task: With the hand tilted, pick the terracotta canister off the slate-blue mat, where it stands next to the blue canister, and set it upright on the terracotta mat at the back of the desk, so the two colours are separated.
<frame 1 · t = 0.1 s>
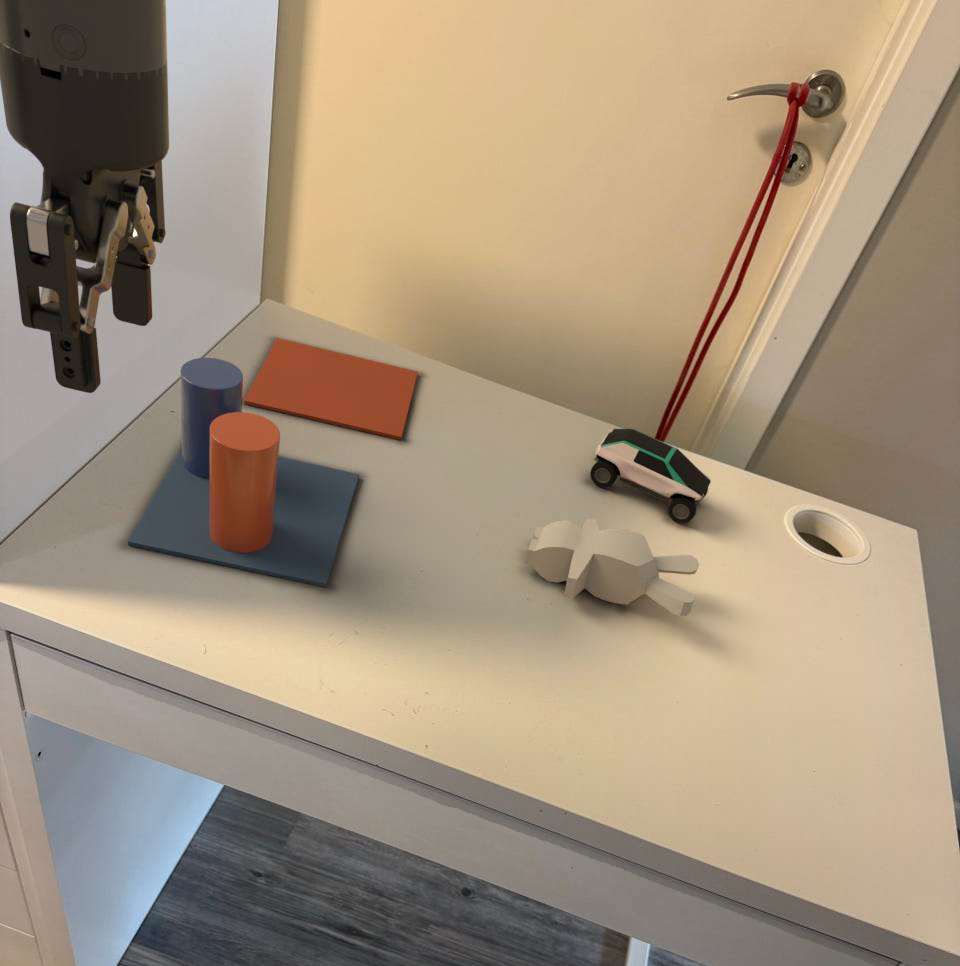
hand: (107, 352, 52), 20 cm above the table, tool pointing down, fingers open, 8 cm apart
terracotta mat: (336, 388, 93), on the table
terracotta canister: (241, 532, 73), resting on blue mat
blue mat: (253, 508, 77), on the table
blue canister: (211, 462, 79), resting on blue mat
toy car: (642, 492, 93), on the table
bunny figurine: (602, 587, 80), on the table
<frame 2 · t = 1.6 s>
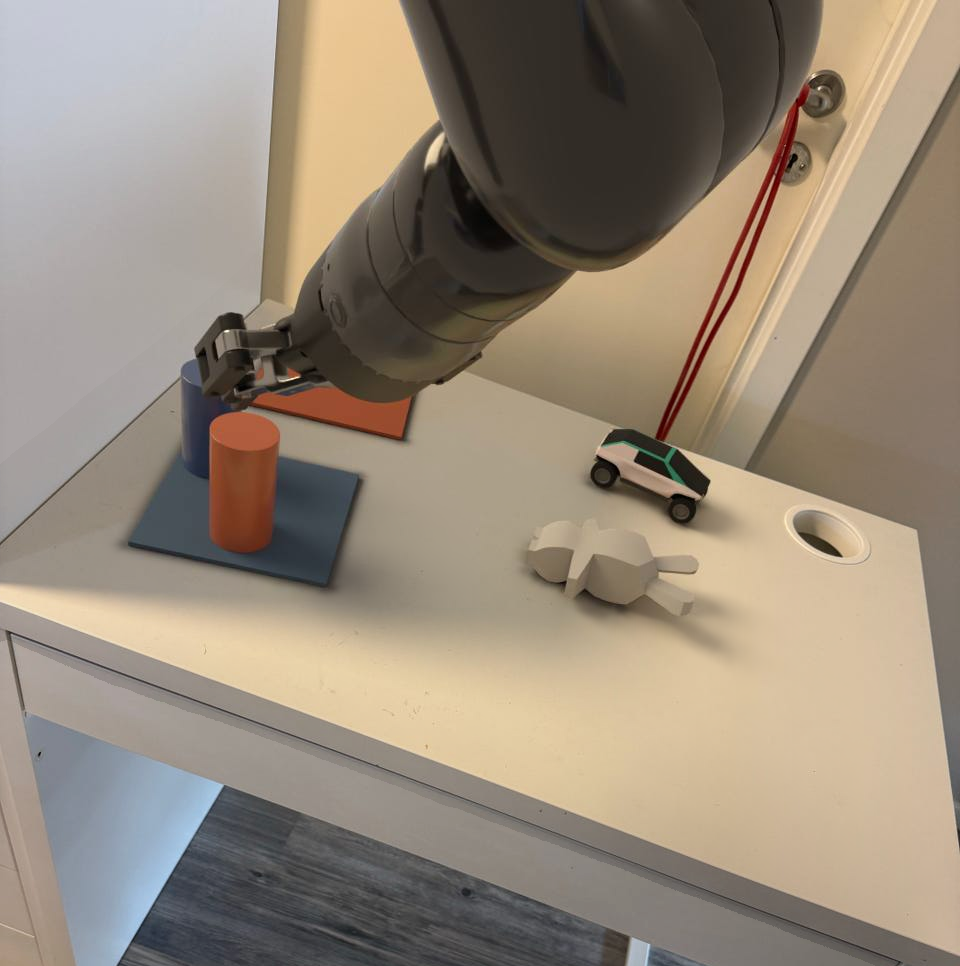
hand: (304, 389, 53), 21 cm above the table, tool tilted 45°, fingers open, 8 cm apart
nothing on the table moved.
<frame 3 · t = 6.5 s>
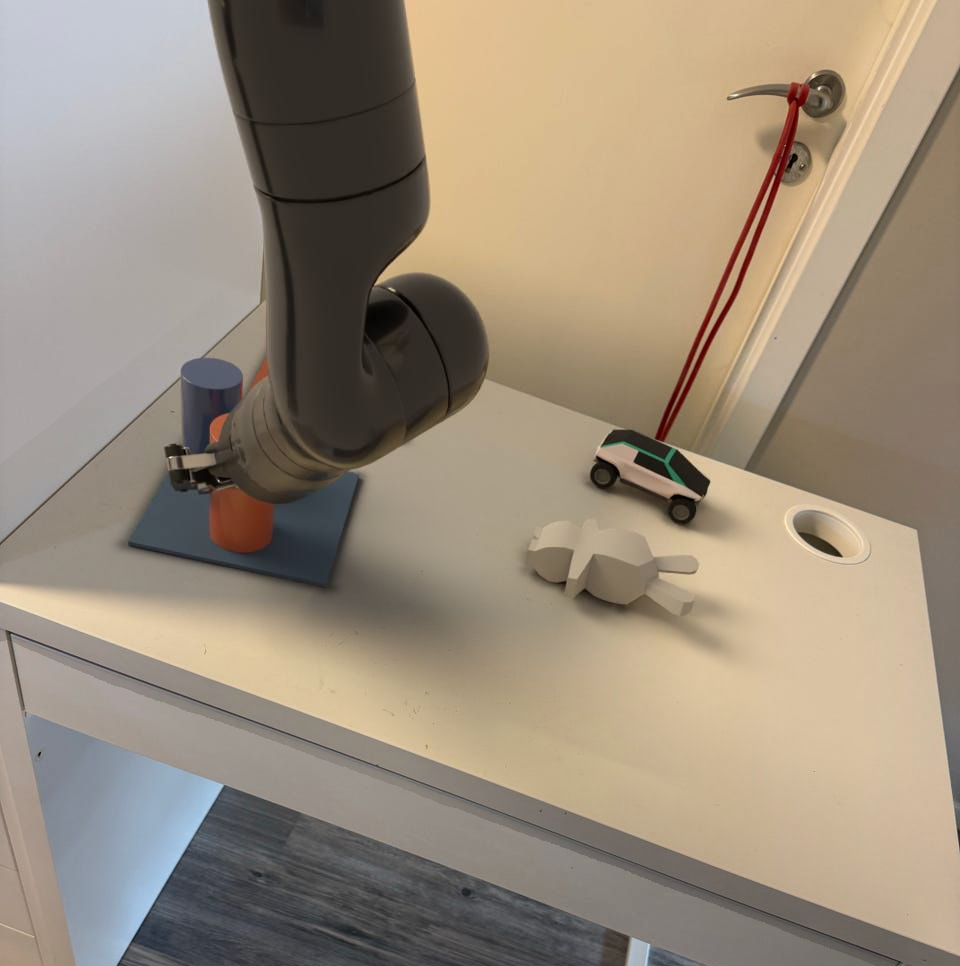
hand: (236, 477, 72), 5 cm above the table, tool tilted 45°, fingers closed on terracotta canister, 5 cm apart
terracotta canister: (241, 532, 73), resting on blue mat, touching gripper
everything else where it was.
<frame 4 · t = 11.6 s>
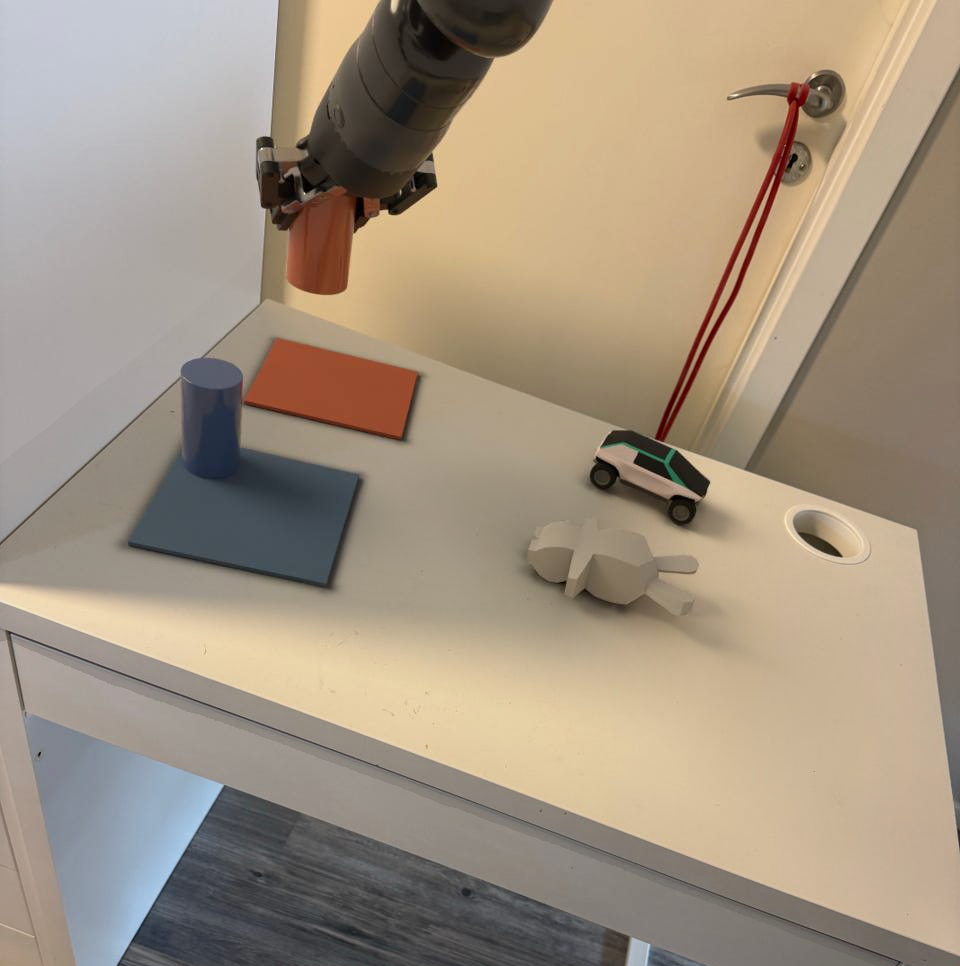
hand: (314, 220, 73), 20 cm above the table, tool tilted 45°, fingers closed on terracotta canister, 5 cm apart
terracotta canister: (316, 280, 75), point 16 cm above the table, touching gripper
everything else where it was.
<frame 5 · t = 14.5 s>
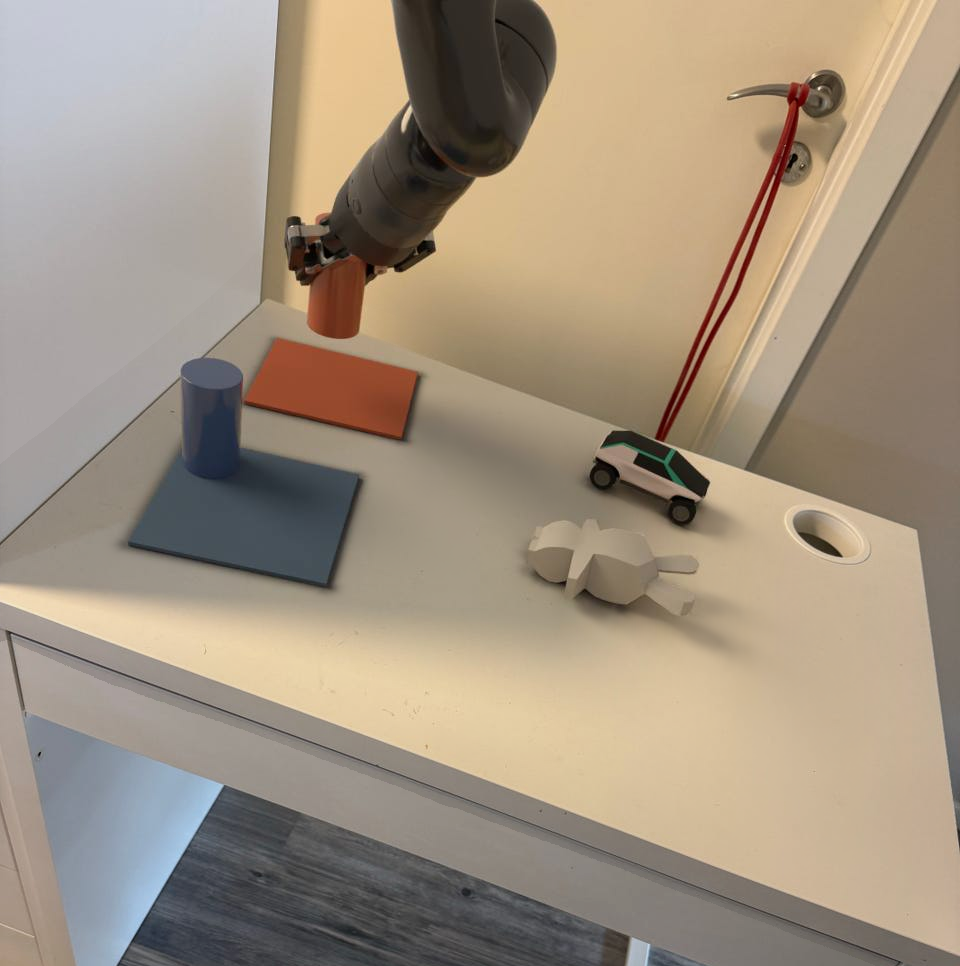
hand: (331, 275, 86), 12 cm above the table, tool tilted 45°, fingers closed on terracotta canister, 5 cm apart
terracotta canister: (333, 326, 87), point 7 cm above the table, touching gripper
everything else where it was.
when the fingers open (5 cm above the table, at t = 16.6 s): terracotta canister stays where it is, resting on terracotta mat.
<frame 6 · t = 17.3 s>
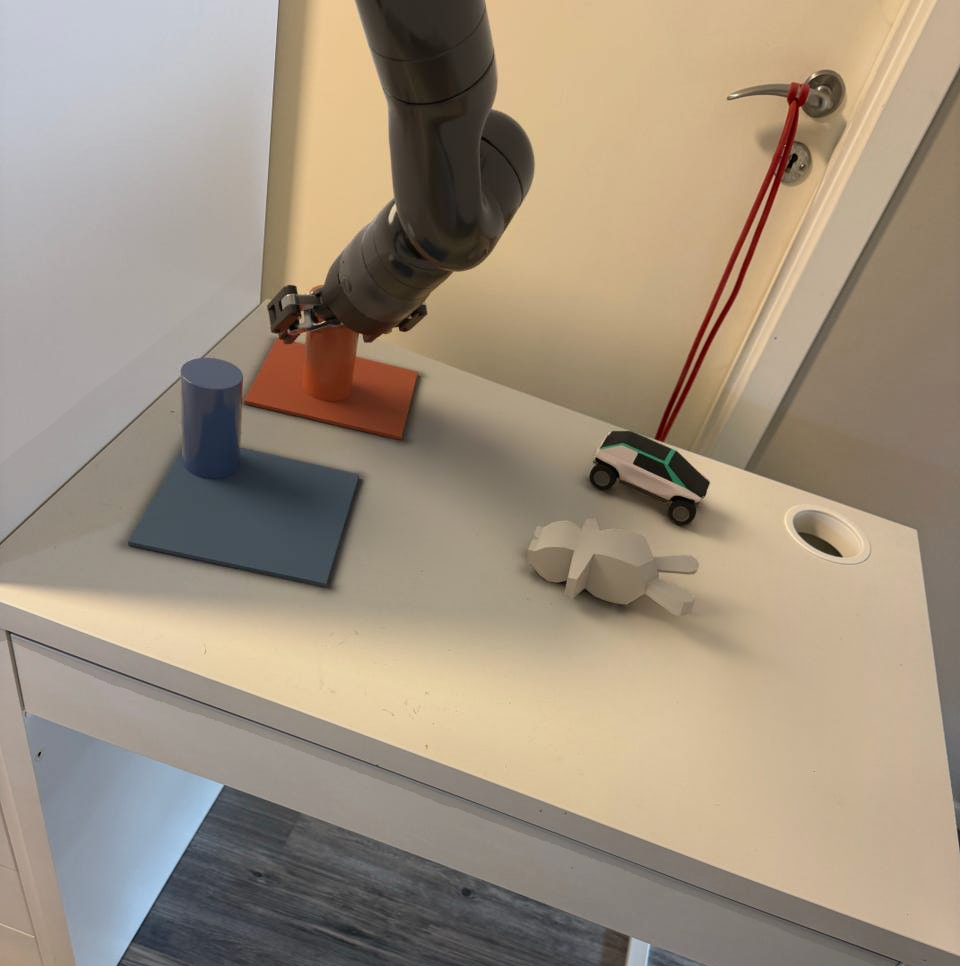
hand: (325, 333, 89), 6 cm above the table, tool tilted 45°, fingers open, 8 cm apart
terracotta canister: (326, 387, 92), resting on terracotta mat
everything else where it was.
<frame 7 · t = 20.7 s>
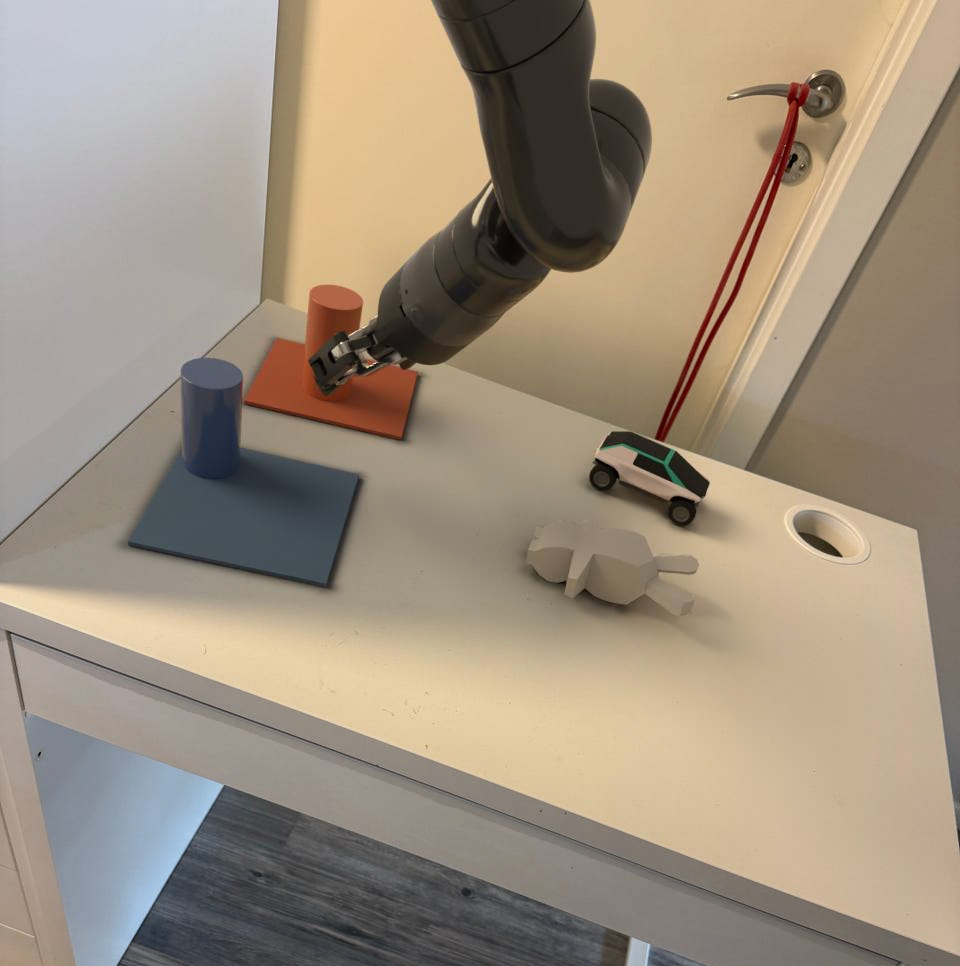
hand: (362, 371, 79), 9 cm above the table, tool tilted 40°, fingers open, 8 cm apart
nothing on the table moved.
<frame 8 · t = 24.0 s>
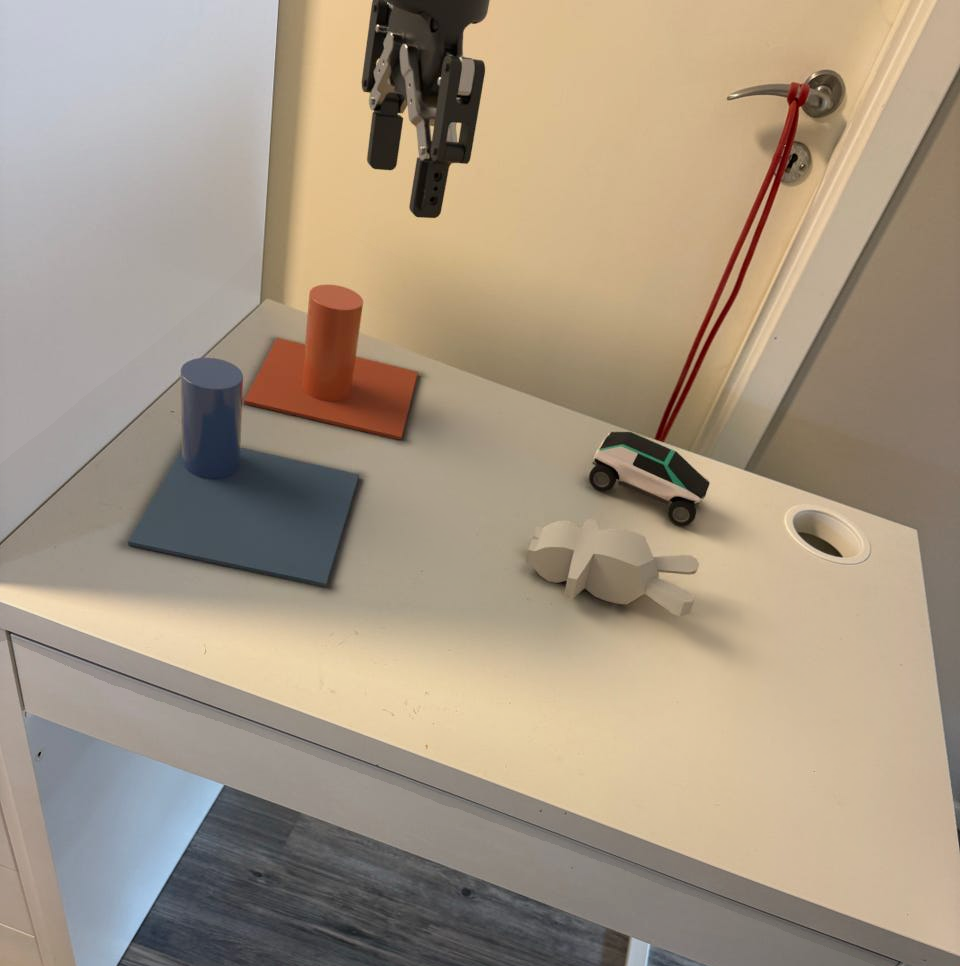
hand: (401, 191, 65), 26 cm above the table, tool pointing down, fingers open, 8 cm apart
nothing on the table moved.
at the end: terracotta canister inside the target area on the terracotta mat (1.4 cm from its centre), point 0.4 cm above the terracotta mat's base; terracotta canister tilted 0°; blue canister moved 0.0 cm from its start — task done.
